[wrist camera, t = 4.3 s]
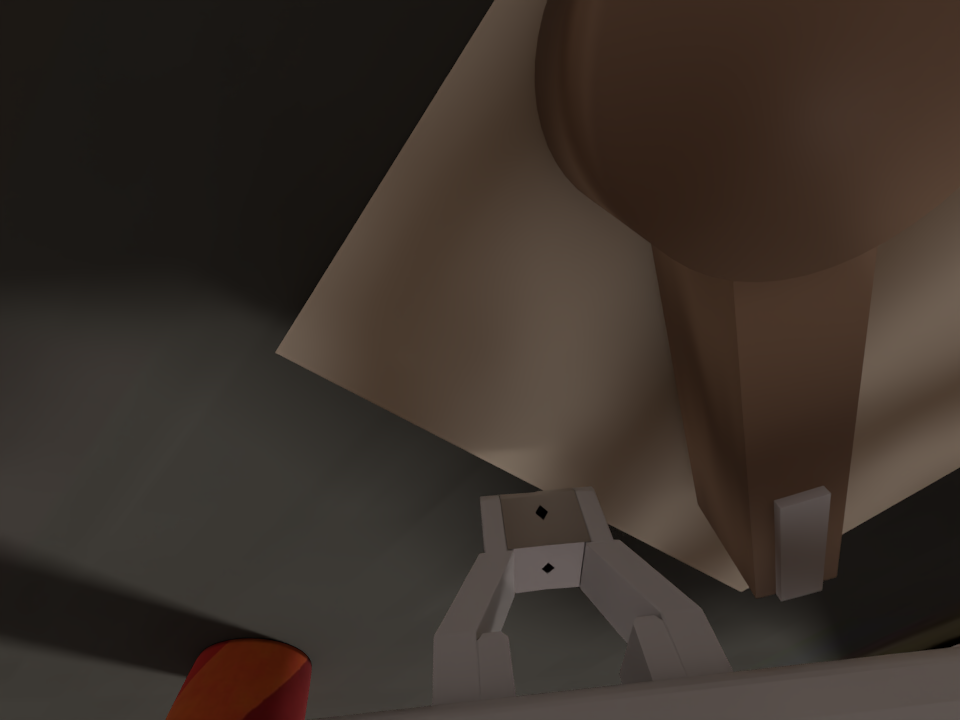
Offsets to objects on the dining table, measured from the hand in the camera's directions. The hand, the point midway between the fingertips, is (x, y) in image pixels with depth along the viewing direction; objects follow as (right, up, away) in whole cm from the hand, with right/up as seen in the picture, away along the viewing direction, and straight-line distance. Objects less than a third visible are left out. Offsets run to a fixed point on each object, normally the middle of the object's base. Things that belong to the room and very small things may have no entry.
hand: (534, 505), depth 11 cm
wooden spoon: (+4, +5, -2) cm, 7 cm away
